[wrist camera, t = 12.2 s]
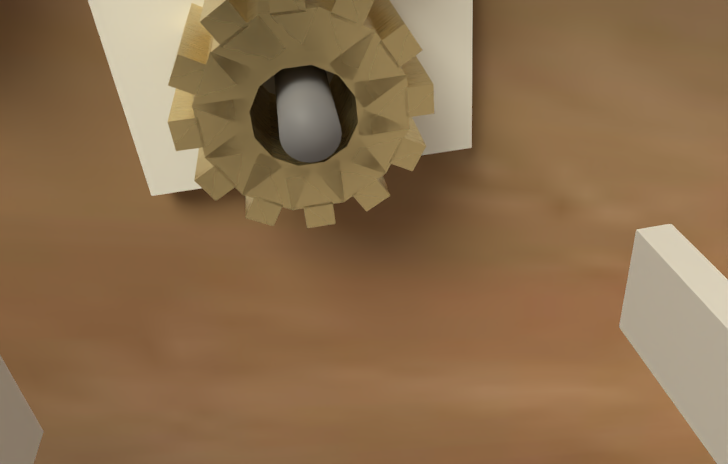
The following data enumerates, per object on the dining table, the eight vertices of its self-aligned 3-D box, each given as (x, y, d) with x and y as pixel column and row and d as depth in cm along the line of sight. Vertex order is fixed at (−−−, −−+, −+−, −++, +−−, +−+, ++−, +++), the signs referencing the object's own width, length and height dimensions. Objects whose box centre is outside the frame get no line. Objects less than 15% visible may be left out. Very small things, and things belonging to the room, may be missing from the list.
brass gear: (406, 139, 30) (436, 208, 25) (210, 168, 29) (202, 244, 24) (394, -73, 25) (429, -39, 20) (156, -43, 24) (132, 0, 19)
